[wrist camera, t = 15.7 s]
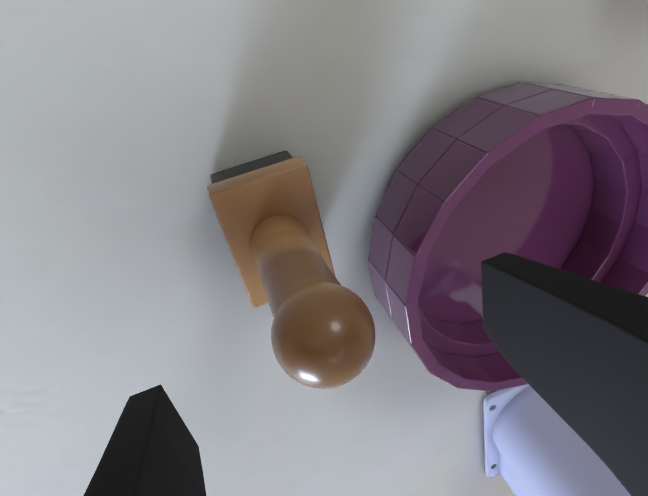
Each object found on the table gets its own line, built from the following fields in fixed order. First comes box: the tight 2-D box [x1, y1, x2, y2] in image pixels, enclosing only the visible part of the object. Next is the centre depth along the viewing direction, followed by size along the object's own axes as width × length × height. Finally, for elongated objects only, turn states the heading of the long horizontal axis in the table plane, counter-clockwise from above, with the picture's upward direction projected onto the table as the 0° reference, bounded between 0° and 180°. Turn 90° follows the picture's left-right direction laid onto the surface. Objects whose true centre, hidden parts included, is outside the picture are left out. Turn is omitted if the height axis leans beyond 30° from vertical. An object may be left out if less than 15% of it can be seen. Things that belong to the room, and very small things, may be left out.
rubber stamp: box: [207, 151, 375, 389], centre depth 15 cm, size 5×4×10 cm
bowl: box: [368, 82, 648, 391], centre depth 21 cm, size 14×14×4 cm
